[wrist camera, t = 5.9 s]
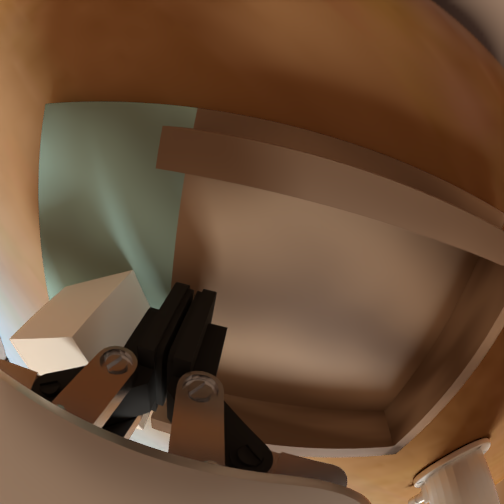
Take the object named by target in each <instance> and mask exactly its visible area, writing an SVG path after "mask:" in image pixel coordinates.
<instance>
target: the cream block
mask: <svg viewBox="0 0 504 504" xmlns="http://www.w3.org/2000/svg"><path fill="white" fill-rule="evenodd" d="M149 308H150V305H149V303H148V301H147V299H146V297H145V295H144V293H143V291H142V288H141V286H140V284H139V282H138V280H137V277H136V275H135V273H134V271H133V270H130V271H126V272H122V273H118V274H114V275H110V276H106V277H102V278H98V279H94V280H90V281H86V282H82V283H78V284H74V285H70V286H66V287H64V288H63V289H62V290H61V291H60V292H59V293H58V294H56V295H55V296H54V297H53V298H52V299H51V300H50V301H49V302H47V303H46V304H45V305H44V306H43V307H42V308H41V309H40V310H39V311H38V312H37V313H36V314H34V315H33V316H32V317H31V318H30V319H29V320H28V321H27V322H26V323H25V324H24V325H23V326H22V327H21V328H20V329H19V330H18V331H17V332H16V333H15V334H14V335H13V336H12V337H11V338H10V341H11V343H12V344H13V346H14V347H15V349H16V350H17V352H18V353H19V355H20V356H21V358H22V359H23V361H24V362H25V364H26V365H27V366H28V368H29V369H30V370H33V371H36V372H38V374H39V375H40V376H41V375H44V374H47V373H52V372H57V371H62V370H67V369H71V368H76V367H81V366H85V365H87V364H88V363H89V362H90V361H91V360H92V359H93V358H94V357H95V356H96V355H97V354H98V353H99V352H100V351H101V350H102V349H104V348H107V347H109V346H122V347H124V346H125V344H126V342H127V341H128V339H129V338H130V336H131V335H132V333H133V332H134V330H135V328H136V327H137V325H138V324H139V322H140V321H141V319H142V318H143V316H144V315H145V313H146V312H147V310H148V309H149ZM149 414H150V412H149V413H146V414H143V417H142V419H141V421H140V423H139V424H138V426H137V427H136V429H140V430H143V429H144V426H145V424H146V421H147V419H148V416H149Z"/></svg>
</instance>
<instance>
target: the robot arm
mask: <svg viewBox="0 0 504 504" xmlns="http://www.w3.org/2000/svg"><path fill="white" fill-rule="evenodd" d="M216 295H217V292H215V291H211V290H207V289H203V291H202V292H200V291H197V293H196V295H195V297H194V299H193V296H194V290H193V289H190V285H187V284H183V283H180V282H176V283H175V285H174V286H173V288H172V289H171V291H170V293H169V294H168V296H167V297H166V299H165V300H164V302H163V304H162V305H161V307H160V309H156V308H152V307H150V308H149V309H148V310H147V312H146V313H145V315H144V316H143V318H142V319H141V321H140V322H139V324H138V325H137V327H136V328H135V330H134V332H133V333H132V335H131V336H130V338H129V339H128V341H127V342H126V344H125V346H124V347H122V346H109V347H107V348H104V349H102V350H101V351H100V352H99V353H98V354H97V355H96V356H95V357H94V358H93V359H92V360H91V361H90V362H89V363H88V364H87V365H85V366H81V367H76V368H71V369H67V370H62V371H57V372H52V373H47V374H44V375H41V376H40V375H39V374H38V372H36V371H33V370H30V369H27V368H24V367H21V366H18V365H16V364H13V363H10V362H8V361H5V360H2V359H0V504H371V503H370V501H369V500H368V499H367V498H366V497H365V496H363V495H362V494H360V493H358V492H356V491H354V490H352V489H350V488H347V476H346V474H345V472H344V471H343V470H342V469H341V468H340V467H338V466H335V465H332V464H327V463H323V462H319V461H314V460H310V459H306V458H303V457H299V456H295V455H292V454H288V453H285V452H281V453H276V452H273V451H271V450H270V449H269V448H268V446H267V445H266V444H265V443H264V442H263V441H262V440H261V439H260V438H259V437H258V436H257V435H256V434H255V433H254V432H253V431H252V430H251V429H250V428H249V427H248V426H247V425H246V424H245V423H244V422H243V421H242V420H241V418H240V417H239V416H238V415H237V414H236V413H235V412H234V411H233V410H232V409H231V408H230V406H229V405H228V404H227V403H226V402H225V401H224V389H223V385H222V383H221V382H220V380H219V379H218V378H216V376H217V371H218V367H219V363H220V359H221V355H222V350H223V346H224V341H225V337H226V333H227V328H228V327H223V326H219V325H215V324H211V322H212V317H213V311H214V306H215V300H216ZM166 398H167V418H168V420H169V421H170V423H171V424H172V425H171V433H170V441H169V450H168V453H167V452H164V451H161V450H158V449H155V448H151V447H149V446H146V445H143V444H140V443H137V442H134V441H132V440H129V438H130V437H131V435H132V434H133V432H134V430H135V429H136V427H137V426H138V424H139V423H140V421H141V419H142V417H143V414H146V413H149V412H150V411H151V410H152V411H155V412H156V410H157V408H158V405H161V406H163V405H164V403H165V400H166ZM490 445H491V443H490V440H489V439H488V438H483V439H479V440H477V441H474V442H472V443H470V444H468V445H466V446H464V447H462V448H460V449H458V450H456V451H454V452H453V453H451V454H449V455H447V456H445V457H444V458H442V459H440V460H439V461H437V462H435V463H434V464H432V465H431V466H429V467H428V468H426V469H425V470H423V471H422V472H421V473H419V474H418V475H417V476H416V477H415V478H414V480H413V483H414V487H417V488H421V490H422V491H421V492H420V494H418V495H416V496H414V497H412V498H411V499H410V500H409V501H408V504H420V503H422V502H423V501H424V503H427V502H429V504H500V501H499V498H498V494H497V491H496V488H495V485H494V482H493V479H492V476H491V473H490V470H489V467H488V464H487V462H486V459H485V456H484V453H485V452H486V451H487V450H488V449H489V447H490Z"/></svg>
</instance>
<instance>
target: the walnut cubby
mask: <svg viewBox="0 0 504 504" xmlns="http://www.w3.org/2000/svg"><path fill="white" fill-rule="evenodd" d="M38 198H39V225H40V238H41V249H42V258H43V265H44V272H45V279H46V285H47V291H48V296H49V301H50V300H51V299H52V298H53V297H54V296H55V295H56V294H58V293H59V292H60V291H61V290H62V289H63V288H64V287H66V286H70V285H74V284H78V283H82V282H86V281H90V280H94V279H98V278H102V277H106V276H110V275H114V274H118V273H122V272H126V271H130V270H133V271H134V273H135V275H136V277H137V280H138V282H139V284H140V286H141V288H142V291H143V293H144V295H145V297H146V299H147V301H148V303H149V305H150V307H152V308H156V309H160V307H161V305H162V304H163V302H164V300H165V299H166V297H167V296H168V294H169V293H170V291H171V289H172V288H173V286H174V285H175V283H176V282H180V283H183V284H187V285H190V289H193V290H194V296H193V299H194V297H195V295H196V293H197V291H200V292H202V291H203V289H207V290H211V291H215V292H217V295H216V300H215V306H214V311H213V317H212V322H211V324H215V325H219V326H223V327H228V328H227V333H226V337H225V341H224V346H223V350H222V355H221V359H220V363H219V367H218V371H217V376H216V378H218V379H219V380H220V382H221V383H222V385H223V389H224V401H225V402H226V403H227V404H228V405H229V406H230V408H231V409H232V410H233V411H234V412H235V413H236V414H237V415H238V416H239V417H240V418H241V420H242V421H243V422H244V423H245V424H246V425H247V426H248V427H249V428H250V429H251V430H252V431H253V432H254V433H255V434H256V435H257V436H258V437H259V438H260V439H261V440H262V441H263V442H264V443H265V444H266V445H267V446H268V448H269V449H270V450H271V451H273V452H276V453H281V452H285V453H288V454H292V455H295V456H302V457H365V456H379V455H390V454H396V453H397V452H398V451H400V450H401V449H402V448H403V447H404V446H405V445H406V444H408V443H409V442H410V441H411V440H412V439H413V438H414V437H415V436H416V435H417V434H418V433H420V432H421V431H422V430H423V429H424V428H425V427H426V426H427V425H428V424H429V423H430V422H431V421H432V420H433V419H434V418H435V417H436V415H437V414H438V413H439V412H440V411H441V410H442V409H443V408H444V407H445V406H446V405H447V404H448V402H449V401H450V400H451V399H452V398H453V397H454V396H455V394H456V393H457V392H458V391H459V390H460V388H461V387H462V386H463V385H464V383H465V382H466V381H467V380H468V378H469V377H470V376H471V374H472V373H473V372H474V370H475V369H476V368H477V366H478V365H479V364H480V362H481V361H482V359H483V358H484V357H485V355H486V354H487V352H488V351H489V349H490V348H491V346H492V345H493V343H494V342H495V340H496V338H497V337H498V335H499V334H500V332H501V330H502V329H503V327H504V230H502V227H503V224H504V213H503V212H501V211H499V210H498V209H496V208H495V207H493V206H491V205H489V204H488V203H486V202H484V201H482V200H481V199H479V198H477V197H475V196H473V195H472V194H470V193H468V192H466V191H464V190H462V189H460V188H458V187H456V186H454V185H452V184H450V183H448V182H446V181H444V180H442V179H440V178H438V177H436V176H434V175H431V174H429V173H427V172H425V171H423V170H420V169H418V168H416V167H413V166H411V165H409V164H406V163H404V162H401V161H399V160H396V159H394V158H391V157H389V156H386V155H384V154H381V153H378V152H376V151H373V150H370V149H367V148H364V147H362V146H359V145H356V144H353V143H350V142H347V141H343V140H340V139H337V138H334V137H331V136H327V135H324V134H320V133H317V132H313V131H310V130H306V129H302V128H298V127H295V126H291V125H286V124H282V123H278V122H274V121H269V120H265V119H260V118H255V117H250V116H245V115H240V114H234V113H228V112H222V111H216V110H209V109H202V108H194V107H186V106H177V105H166V104H154V103H138V102H65V103H50V104H45V111H44V118H43V125H42V134H41V144H40V157H39V184H38ZM151 423H152V428H153V429H156V430H159V431H163V432H166V433H169V434H170V433H171V425H172V424H171V423H170V421H169V420H168V418H167V398H166V400H165V403H164V405H163V406H161V405H158V408H157V410H156V412H155V411H153V414H152V417H151Z"/></svg>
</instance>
